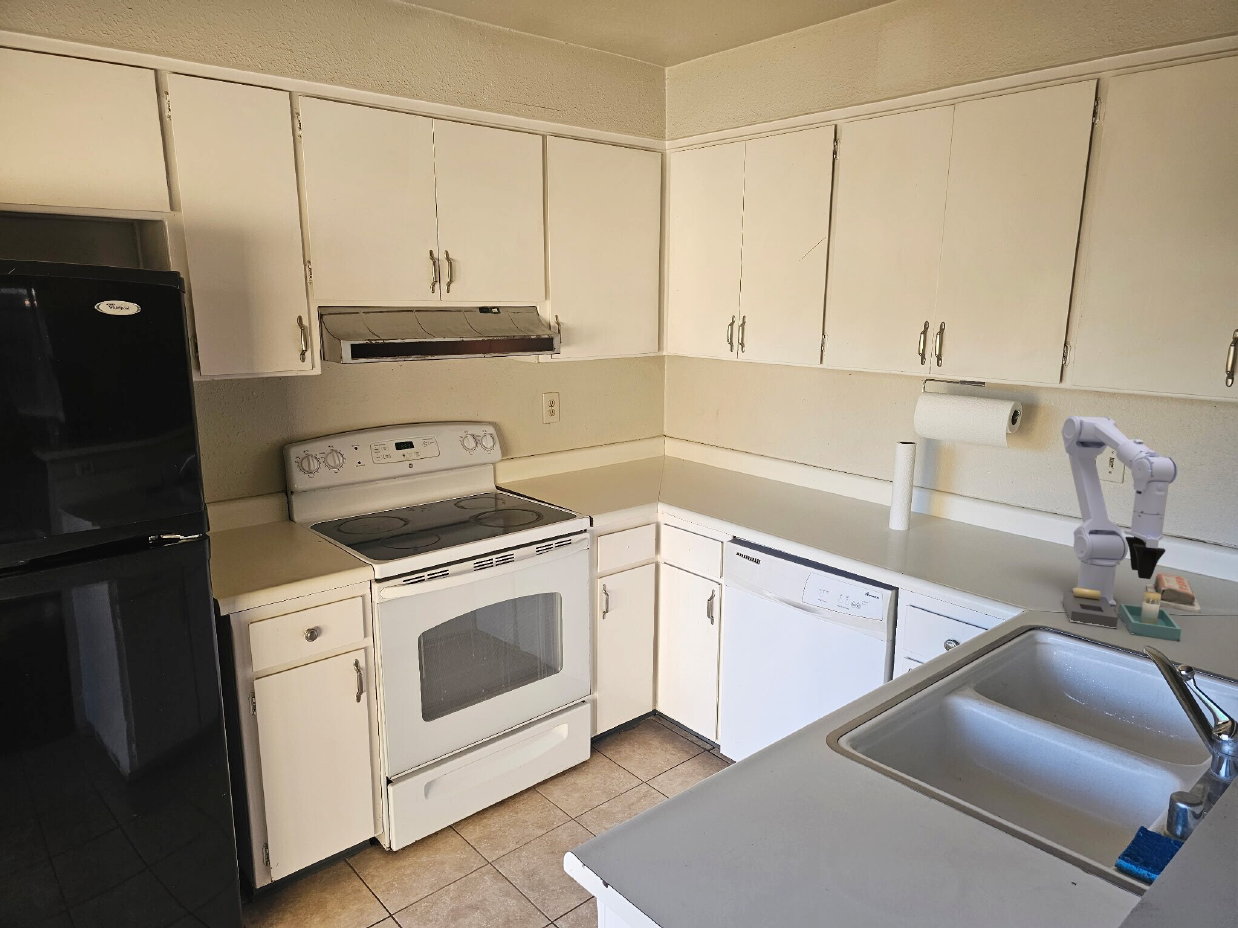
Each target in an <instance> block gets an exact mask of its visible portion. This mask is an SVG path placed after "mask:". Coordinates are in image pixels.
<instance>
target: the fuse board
mask: <svg viewBox="0 0 1238 928" xmlns="http://www.w3.org/2000/svg"><path fill="white" fill-rule="evenodd" d="M1073 588H1074V593H1073V592H1068V591H1063V594H1062V604H1063V607H1064V610H1065V612H1067V613H1066V615H1067V614H1068V615H1067V617H1068V616H1069V618H1070V619H1071V620H1073V621H1080V622H1083V623H1092V624H1099V625H1104V626H1109V627H1116V629H1117V628H1118V626H1117V625H1118V622H1119V621H1118V619H1119V617H1118V615H1117V614H1116V612H1115V610H1114V609H1113V607H1112V605H1110V604H1109V602H1108V600H1107V598H1106V597H1100V591H1097V590H1089V589H1082V588H1077V587H1073ZM1069 618H1068V619H1069Z"/></svg>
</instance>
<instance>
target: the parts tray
mask: <svg viewBox="0 0 1238 928" xmlns="http://www.w3.org/2000/svg"><path fill="white" fill-rule="evenodd" d="M1141 611H1142V606H1141V605H1140V606H1138V605H1132V604H1124V603H1120V604H1119V611H1118V615H1120V616H1121V617H1120V616H1119V617H1120V619H1121V618H1122V619H1123V621H1124V622H1123V621H1122V622H1123V624H1124V623H1125V624H1126V626H1127V627H1128V629H1129V631H1130V632H1129V631H1128V632H1129V633H1134V634H1136V635H1135V636H1143V637H1148V638H1155V639H1160V640H1161V639H1163V640H1169V641H1176V642H1180V640H1181V633H1182V628H1181V627H1180V626H1179V625H1178V624H1177V622H1176V621H1175V620H1174V619H1173V617H1172V616H1171V615H1170V614H1169V612H1168V611H1167V610H1166V609H1160V608H1159V613H1158V620H1157V625H1152V624H1145V623H1140V618H1141ZM1122 619H1121V620H1122ZM1125 624H1124V625H1125ZM1126 626H1125V627H1126ZM1127 627H1126V628H1127ZM1128 629H1127V630H1128ZM1134 634H1133V635H1134Z"/></svg>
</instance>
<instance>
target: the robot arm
mask: <svg viewBox="0 0 1238 928" xmlns="http://www.w3.org/2000/svg"><path fill="white" fill-rule="evenodd" d="M1117 426H1118V425H1117V422H1116V421H1115V420H1113V419H1112V418H1111V417H1109V416H1103V417H1101V416H1100V417H1098V416H1077V415H1069V416H1067V418H1066V419H1065V420H1064V423H1063V426H1062V429H1061V436H1062V441H1063V445H1064V450H1065V453H1066V454H1068V460H1069V463H1070V468H1071V469H1070V470H1071V473H1072V477H1073V482H1074V487H1075V490H1076V491H1075V493H1076V496H1077V501H1078V505H1079V506H1078V507H1079V510H1080V514H1081V519H1082V520H1081V521H1082V523H1081V524H1080V525H1079V526H1078V527H1076V528H1075V530H1074V531H1073V540H1074V542H1073V552H1074V553H1075V556H1076V557H1077V559H1078V560H1079V561H1080V566H1079V571H1078V578H1077V584H1076V585H1077V586H1076V588H1082V589H1089V590H1097V591H1100V597H1106V598H1107V600H1108V602H1109V604H1110V605H1111V606H1117V602H1116V601H1115V600H1114V599H1115V598H1113V594H1114V586H1115V579H1116V578H1115V577H1116V572H1117V566H1119V565H1121V562H1122V561H1124V560H1125V559H1126V557H1127V555H1128V552H1129V558H1130V568H1131V570H1132V571H1137V577H1138V578H1139V579H1145V580H1151V578H1152V576H1153V574H1154V572H1155V569H1156V567H1157V564H1158V563H1159V560H1160V559H1161V558H1162V557H1163V555H1165V553H1166V549H1165V548H1164V547H1159V541H1161V540H1162V539H1163V538H1164V534H1163V529H1164V524H1165V523H1164V522H1165V516H1166V514H1165V513H1166V509H1167V500H1168V499H1167V498H1168V491H1169V487H1170V484H1172V483H1174V481H1175V480H1176V478H1177V475H1178V465H1177V463H1176V460H1174V458H1172V457H1171V456H1163V457H1162V456H1160V455H1159V454H1157V452H1156V451H1155V450H1153V449H1151V448H1149V447H1148V446H1146V445H1145V444H1144V443H1145V441H1143V440H1142V439H1141V438H1140V439H1139V438H1137V439H1135V438H1131V439H1129V438H1128V437H1127V436H1126V435H1125V434H1124V433H1123V432H1121V430H1120V429H1118V427H1117ZM1107 447H1109V448H1111V449H1112V450H1114V452H1116V453H1115V454H1116V455H1115V456H1116V458H1117V460H1118V461H1119V462H1121V463H1122V464H1123V465H1124V466H1126V467H1127V468H1128V469H1129V470H1131V471H1130V472H1131V477H1132V479H1133V484H1132V486H1133V487H1132V488H1133V490H1135V491H1134V492H1135V493H1134V500H1133V501H1134V502H1133V509H1132V518H1131V524H1130V525H1131V526H1130V529H1123V533H1124V535H1128V536H1125V537H1124V535H1123V534H1122V528H1121V527H1120V526H1118V525H1117V524H1115V523H1114V522H1112V521H1111V520H1110V519H1109V515H1108V511H1107V506H1106V503H1105V497H1104V493H1103V490H1102V485H1101V480H1100V476H1099V472H1098V467H1097V463H1096V457H1098V456H1100V455H1102V454H1103V453H1104V452H1105V451H1106V449H1107ZM1074 588H1075V587H1073V588H1071V590H1072V593H1074Z"/></svg>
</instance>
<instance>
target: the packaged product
mask: <svg viewBox="0 0 1238 928" xmlns="http://www.w3.org/2000/svg"><path fill="white" fill-rule="evenodd" d="M1145 587H1147V588H1146V591H1152V592H1157V593H1160V594H1161V600H1160V606H1159V607H1161V608H1169V609H1175V610H1181V611H1186V610H1187V612H1191V613H1198V612H1199V614H1200V613H1201V606H1200V605H1199V602H1198V601H1199V600H1198V599H1197V597H1196V595H1195V592H1194V590H1192V586H1191V585H1190V582H1189V580H1188V579H1187V578H1185V577H1183V576H1179V575H1172V574H1165V573H1157V575H1156V576H1155V579H1154V582H1153V583H1151V582H1146V583H1145Z"/></svg>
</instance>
